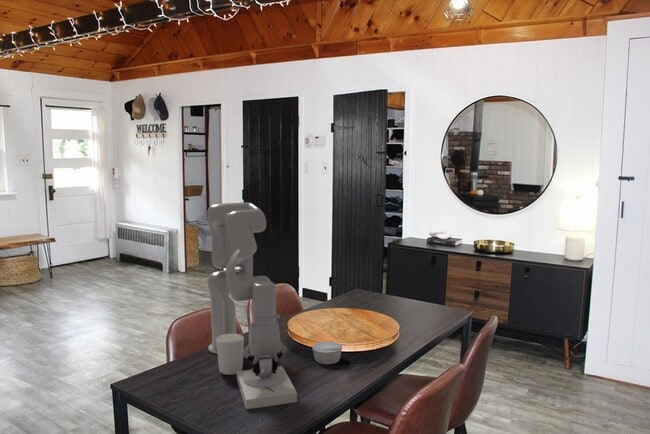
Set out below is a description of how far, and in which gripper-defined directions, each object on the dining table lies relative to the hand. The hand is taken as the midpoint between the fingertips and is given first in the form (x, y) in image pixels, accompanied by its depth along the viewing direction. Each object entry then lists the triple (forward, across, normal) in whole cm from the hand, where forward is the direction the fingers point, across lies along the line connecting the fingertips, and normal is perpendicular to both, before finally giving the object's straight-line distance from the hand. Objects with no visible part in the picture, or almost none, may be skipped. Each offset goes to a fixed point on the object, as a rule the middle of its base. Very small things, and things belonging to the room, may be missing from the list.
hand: (265, 372), depth 172 cm
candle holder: (+6, +9, -20) cm, 23 cm away
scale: (+6, 0, 0) cm, 6 cm away
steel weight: (+1, 0, 0) cm, 1 cm away
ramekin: (+6, -27, -19) cm, 34 cm away
